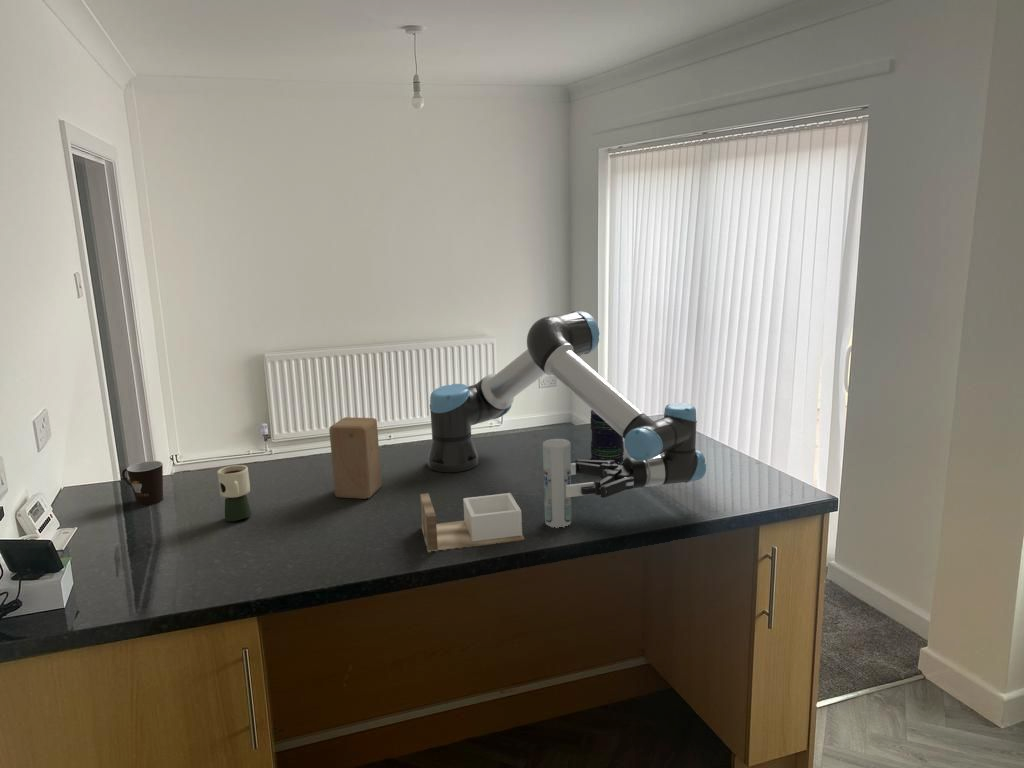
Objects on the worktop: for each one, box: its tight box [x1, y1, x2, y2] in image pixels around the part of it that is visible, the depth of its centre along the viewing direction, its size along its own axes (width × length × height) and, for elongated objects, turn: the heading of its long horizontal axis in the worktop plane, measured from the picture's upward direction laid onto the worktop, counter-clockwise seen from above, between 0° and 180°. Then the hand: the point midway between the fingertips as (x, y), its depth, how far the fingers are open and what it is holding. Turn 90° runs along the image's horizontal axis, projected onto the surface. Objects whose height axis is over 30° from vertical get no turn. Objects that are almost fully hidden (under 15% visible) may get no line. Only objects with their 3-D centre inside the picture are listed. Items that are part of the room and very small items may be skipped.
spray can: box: [542, 438, 572, 529], centre depth 173 cm, size 6×6×20 cm
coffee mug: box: [121, 460, 164, 506], centre depth 198 cm, size 12×9×10 cm
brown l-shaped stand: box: [419, 492, 525, 553], centre depth 170 cm, size 14×22×8 cm, turn 103°
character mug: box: [216, 464, 252, 522], centre depth 183 cm, size 11×7×13 cm, turn 26°
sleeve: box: [462, 492, 523, 542], centre depth 171 cm, size 12×12×6 cm
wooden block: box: [329, 416, 383, 500], centre depth 197 cm, size 10×10×20 cm
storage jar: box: [590, 409, 625, 464], centre depth 217 cm, size 10×10×15 cm
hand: (557, 481), depth 172 cm, fingers open, 13 cm apart
